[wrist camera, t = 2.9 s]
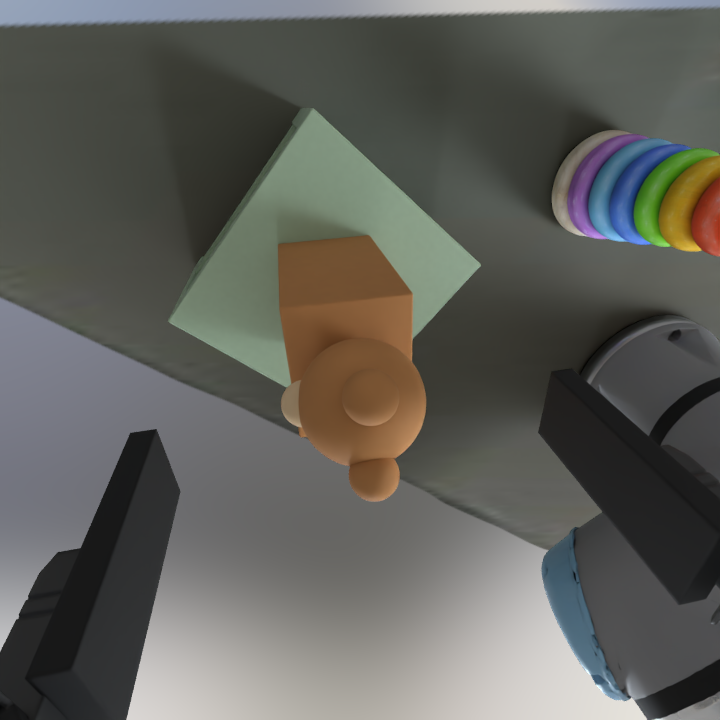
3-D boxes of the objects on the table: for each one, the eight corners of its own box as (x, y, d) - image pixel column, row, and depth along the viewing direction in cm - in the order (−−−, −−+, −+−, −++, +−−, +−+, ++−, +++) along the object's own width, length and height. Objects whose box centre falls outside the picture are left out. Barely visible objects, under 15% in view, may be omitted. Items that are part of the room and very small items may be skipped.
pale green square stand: (431, 226, 35) (481, 265, 26) (326, 350, 39) (340, 418, 31) (301, 107, 29) (312, 107, 21) (194, 267, 33) (167, 321, 25)
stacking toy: (636, 213, 37) (905, 291, 21) (550, 245, 38) (753, 346, 22) (640, 114, 33) (976, 119, 17) (542, 150, 33) (788, 189, 17)
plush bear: (369, 234, 24) (464, 359, 12) (373, 334, 28) (451, 511, 16) (270, 244, 24) (265, 387, 12) (286, 345, 27) (295, 538, 15)
